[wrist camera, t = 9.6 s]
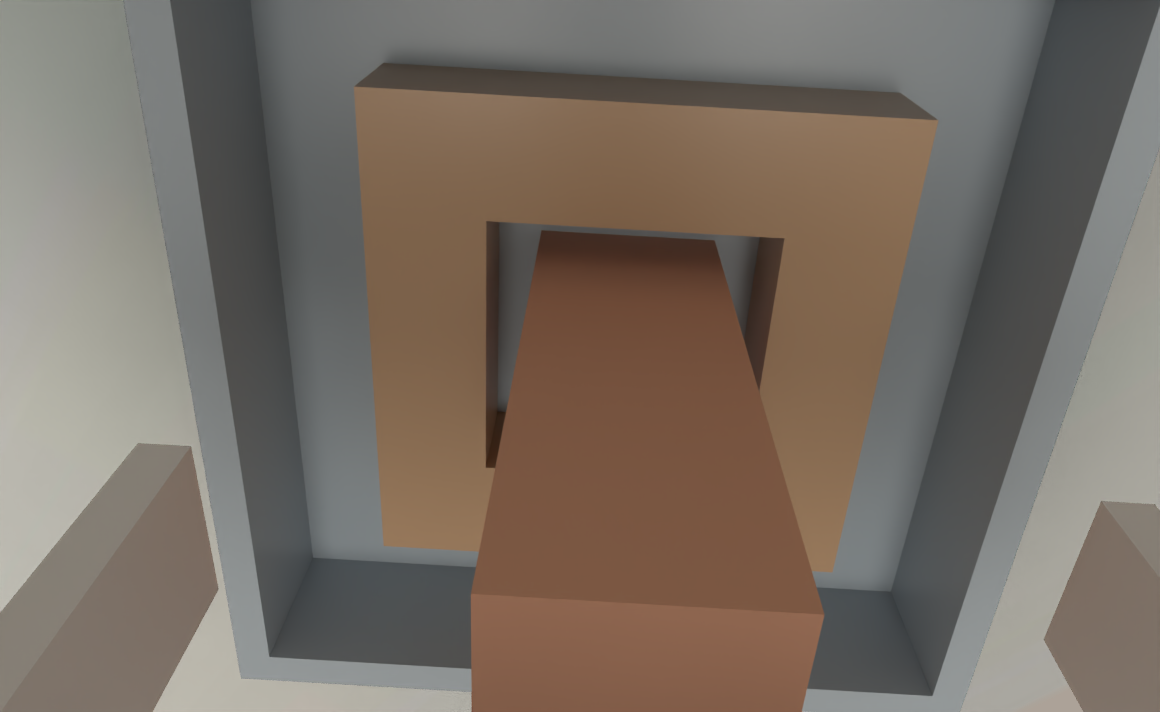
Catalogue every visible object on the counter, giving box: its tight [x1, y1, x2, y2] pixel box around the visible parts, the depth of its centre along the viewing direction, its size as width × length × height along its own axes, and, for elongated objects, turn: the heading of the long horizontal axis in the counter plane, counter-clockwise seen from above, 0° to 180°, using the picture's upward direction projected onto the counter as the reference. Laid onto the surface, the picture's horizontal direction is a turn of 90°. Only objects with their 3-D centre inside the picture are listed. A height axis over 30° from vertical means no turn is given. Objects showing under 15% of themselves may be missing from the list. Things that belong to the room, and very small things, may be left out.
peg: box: [471, 230, 825, 712], centre depth 16 cm, size 4×4×12 cm
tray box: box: [123, 0, 1160, 712], centre depth 20 cm, size 18×18×4 cm
